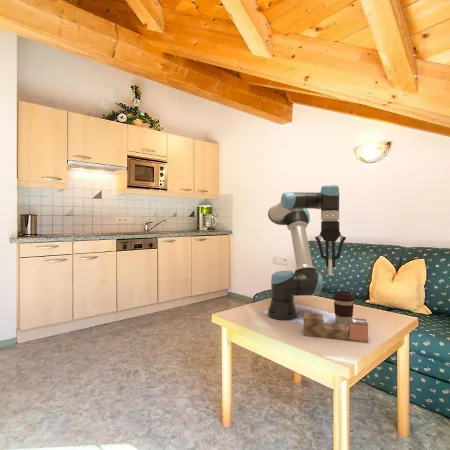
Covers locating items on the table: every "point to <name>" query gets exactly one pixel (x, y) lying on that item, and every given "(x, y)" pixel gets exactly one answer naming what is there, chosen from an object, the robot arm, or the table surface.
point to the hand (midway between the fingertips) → (330, 274)
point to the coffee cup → (343, 306)
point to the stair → (325, 328)
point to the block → (358, 329)
